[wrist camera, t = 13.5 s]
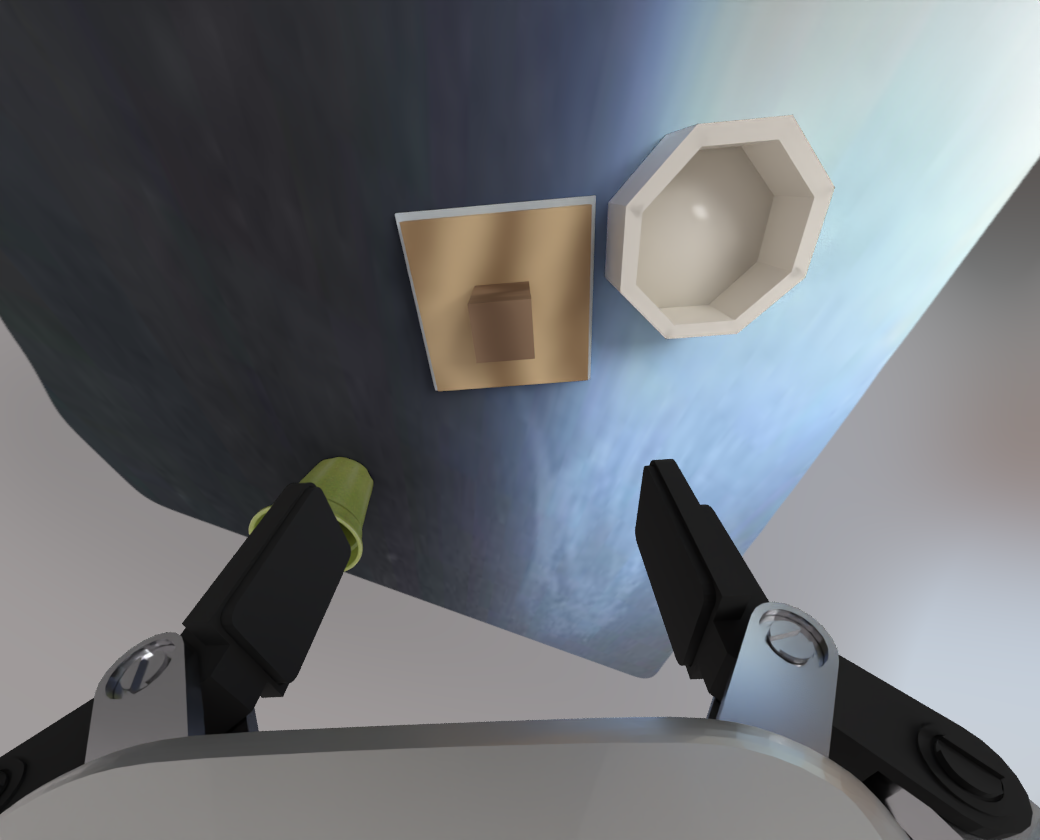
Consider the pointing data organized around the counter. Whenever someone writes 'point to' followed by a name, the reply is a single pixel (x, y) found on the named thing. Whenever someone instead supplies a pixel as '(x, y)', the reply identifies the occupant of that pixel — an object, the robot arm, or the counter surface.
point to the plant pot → (340, 498)
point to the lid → (504, 295)
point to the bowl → (717, 224)
